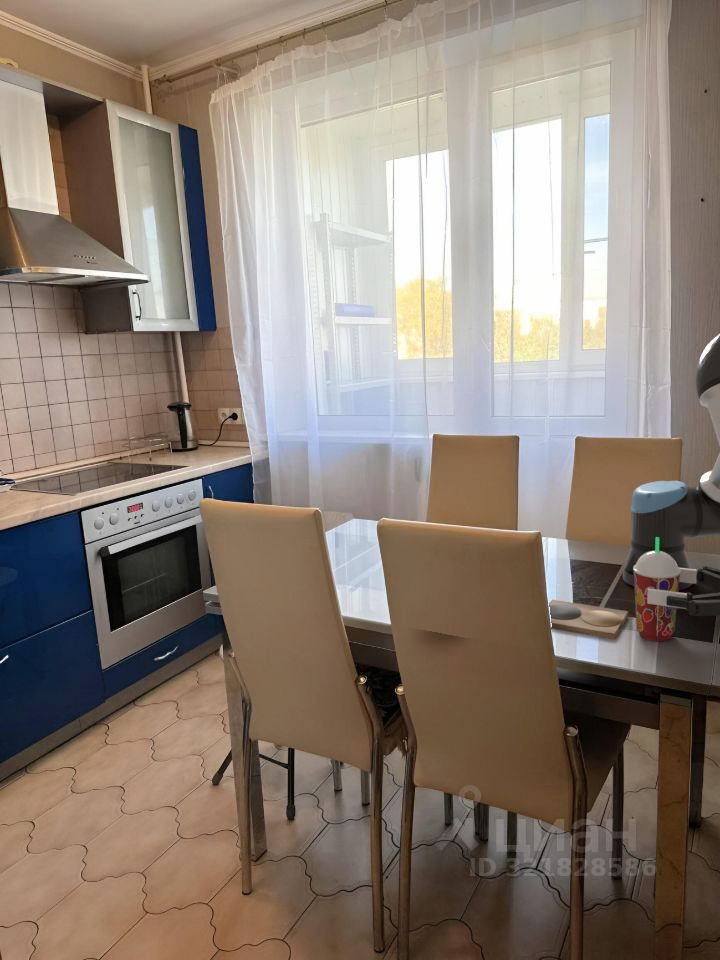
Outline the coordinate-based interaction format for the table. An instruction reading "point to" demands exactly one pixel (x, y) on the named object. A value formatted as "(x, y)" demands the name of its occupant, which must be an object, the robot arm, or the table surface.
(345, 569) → the table surface
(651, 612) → the smoothie
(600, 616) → the coaster board
